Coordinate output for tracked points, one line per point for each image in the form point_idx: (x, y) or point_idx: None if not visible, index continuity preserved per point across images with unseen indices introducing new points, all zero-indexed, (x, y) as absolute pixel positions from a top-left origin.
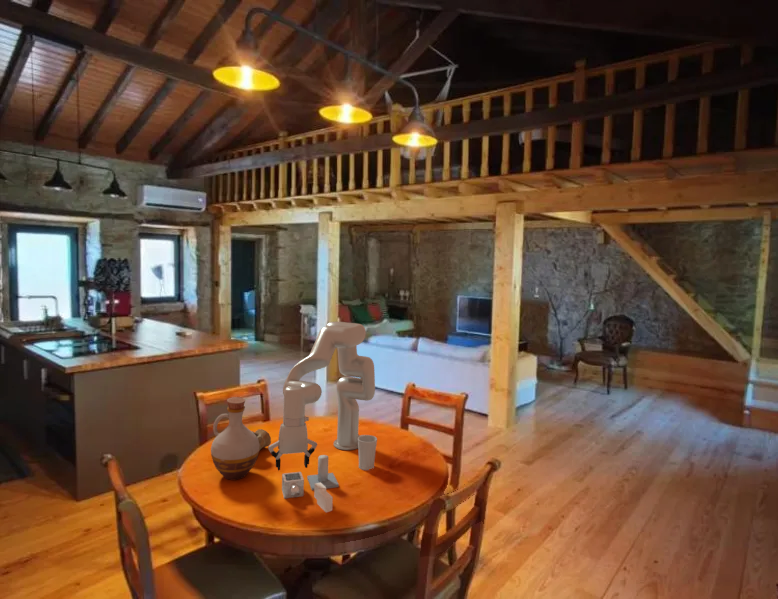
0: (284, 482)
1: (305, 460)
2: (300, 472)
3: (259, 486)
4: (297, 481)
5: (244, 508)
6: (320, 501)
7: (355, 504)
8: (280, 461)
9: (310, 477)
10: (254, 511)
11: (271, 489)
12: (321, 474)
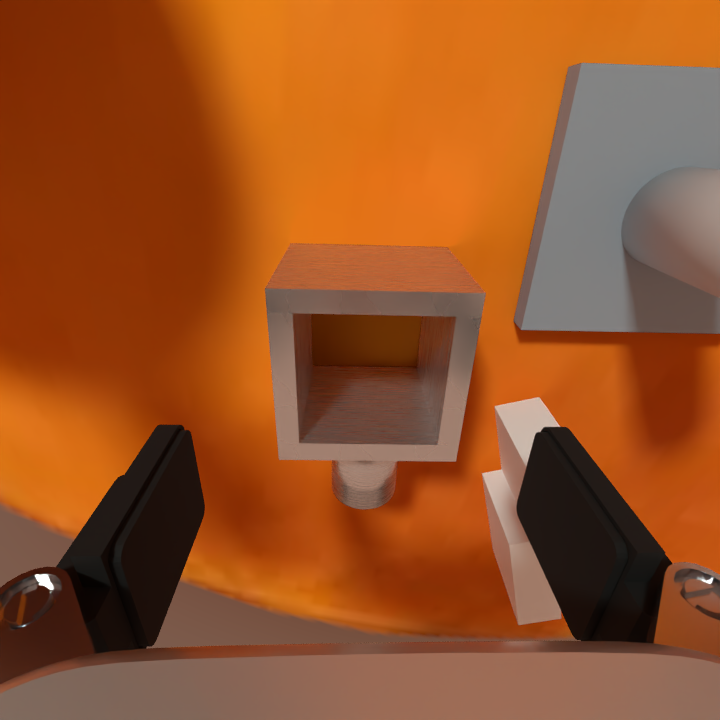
0: (279, 457)
1: (556, 584)
2: (473, 313)
3: (81, 118)
4: (397, 455)
5: (45, 426)
6: (496, 530)
7: (669, 524)
8: (162, 623)
9: (591, 125)
10: (116, 466)
11: (202, 215)
12: (685, 280)
